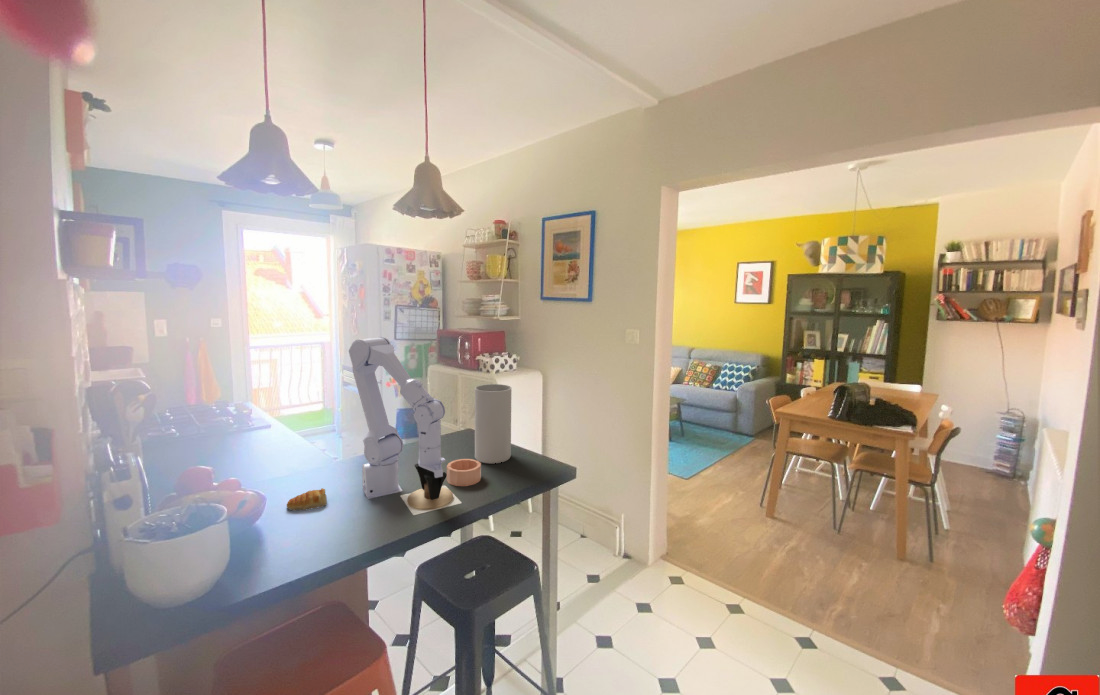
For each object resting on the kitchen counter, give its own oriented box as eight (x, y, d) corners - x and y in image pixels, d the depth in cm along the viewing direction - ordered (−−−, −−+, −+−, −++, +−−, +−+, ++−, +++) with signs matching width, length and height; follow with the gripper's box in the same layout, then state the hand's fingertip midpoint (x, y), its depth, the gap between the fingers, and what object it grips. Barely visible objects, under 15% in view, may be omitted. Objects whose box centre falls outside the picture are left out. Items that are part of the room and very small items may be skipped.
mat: (413, 517, 111) (413, 515, 110) (400, 497, 121) (400, 495, 121) (461, 505, 118) (462, 502, 118) (445, 487, 128) (445, 485, 128)
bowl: (454, 490, 126) (454, 474, 126) (442, 478, 135) (442, 462, 134) (486, 483, 132) (486, 467, 131) (472, 471, 140) (472, 456, 140)
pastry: (287, 515, 111) (286, 501, 110) (286, 504, 116) (285, 491, 116) (328, 506, 116) (327, 493, 115) (325, 497, 121) (325, 483, 121)
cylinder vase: (517, 459, 152) (518, 388, 149) (486, 467, 144) (486, 393, 141) (498, 449, 162) (499, 382, 159) (468, 456, 154) (468, 386, 151)
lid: (415, 514, 111) (414, 498, 111) (402, 495, 121) (401, 480, 121) (459, 502, 118) (459, 487, 117) (443, 486, 128) (443, 472, 127)
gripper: (453, 450, 114) (454, 500, 115) (435, 435, 126) (436, 480, 127) (427, 455, 110) (427, 507, 112) (410, 439, 122) (411, 486, 124)
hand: (430, 493), depth 119 cm, fingers open, 6 cm apart
